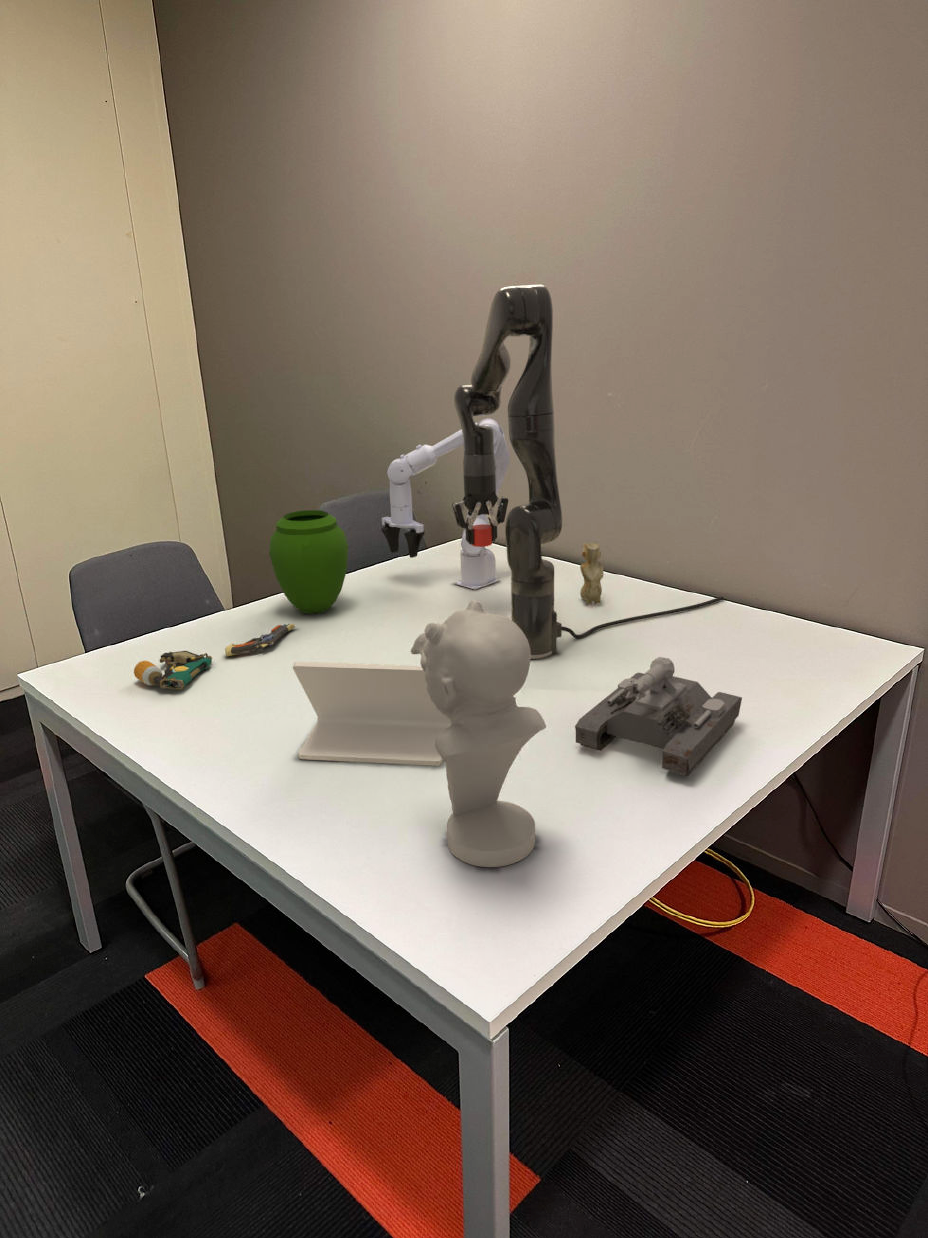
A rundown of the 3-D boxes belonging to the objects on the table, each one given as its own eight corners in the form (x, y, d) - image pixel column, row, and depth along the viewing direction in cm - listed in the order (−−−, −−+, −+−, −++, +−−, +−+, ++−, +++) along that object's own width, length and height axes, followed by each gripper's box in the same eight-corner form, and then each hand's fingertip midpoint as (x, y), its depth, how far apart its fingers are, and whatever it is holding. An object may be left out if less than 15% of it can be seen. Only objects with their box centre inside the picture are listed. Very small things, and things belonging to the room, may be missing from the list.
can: (475, 547, 203) (474, 530, 201) (468, 542, 207) (467, 525, 206) (495, 545, 204) (494, 527, 203) (487, 540, 209) (487, 523, 207)
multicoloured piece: (177, 659, 191) (231, 671, 185) (120, 684, 176) (176, 698, 171) (176, 641, 190) (230, 653, 184) (118, 665, 175) (174, 678, 169)
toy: (637, 695, 165) (641, 623, 160) (740, 721, 154) (747, 645, 149) (574, 750, 146) (575, 670, 141) (685, 784, 135) (691, 699, 130)
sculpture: (599, 596, 220) (601, 540, 215) (605, 605, 214) (607, 548, 208) (577, 597, 220) (578, 541, 215) (582, 606, 213) (583, 549, 208)
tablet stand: (441, 765, 143) (437, 672, 137) (297, 759, 146) (287, 668, 140) (456, 716, 160) (453, 631, 154) (327, 711, 163) (319, 628, 157)
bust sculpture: (481, 772, 140) (476, 569, 128) (565, 848, 120) (569, 617, 108) (392, 800, 134) (378, 588, 121) (465, 886, 114) (457, 642, 101)
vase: (368, 603, 220) (362, 511, 212) (318, 627, 205) (308, 529, 196) (311, 592, 230) (303, 503, 222) (259, 614, 215) (248, 520, 206)
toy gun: (221, 647, 188) (262, 644, 186) (256, 622, 206) (295, 619, 204) (223, 659, 189) (265, 656, 187) (258, 633, 207) (297, 630, 205)
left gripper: (372, 504, 229) (375, 552, 233) (408, 511, 219) (411, 562, 224) (391, 499, 233) (394, 547, 238) (428, 506, 224) (430, 556, 229)
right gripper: (500, 466, 205) (502, 535, 211) (445, 472, 201) (448, 542, 207) (514, 471, 199) (515, 542, 205) (456, 477, 194) (459, 549, 200)
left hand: (403, 554), depth 231 cm, fingers open, 7 cm apart
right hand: (481, 541), depth 206 cm, fingers closed on can, 5 cm apart
